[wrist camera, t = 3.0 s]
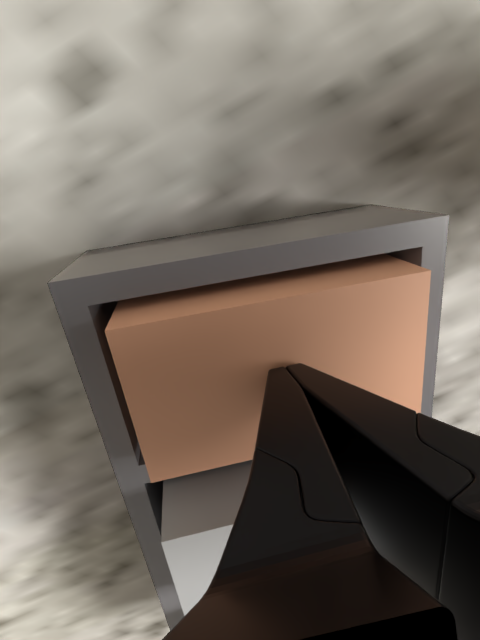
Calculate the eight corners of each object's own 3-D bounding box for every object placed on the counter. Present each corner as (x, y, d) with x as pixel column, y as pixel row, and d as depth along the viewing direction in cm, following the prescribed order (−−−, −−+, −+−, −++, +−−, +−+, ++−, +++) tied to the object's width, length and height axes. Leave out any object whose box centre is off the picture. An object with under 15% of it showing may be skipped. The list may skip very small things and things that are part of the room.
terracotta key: (367, 369, 13) (419, 420, 10) (156, 414, 12) (151, 483, 9) (368, 247, 11) (431, 270, 8) (122, 291, 10) (104, 331, 8)
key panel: (368, 541, 20) (413, 624, 16) (188, 589, 19) (191, 690, 15) (371, 204, 13) (449, 214, 9) (86, 250, 12) (47, 282, 8)
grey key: (376, 500, 14) (423, 575, 12) (188, 547, 14) (192, 640, 11) (377, 410, 13) (433, 474, 10) (164, 458, 12) (160, 542, 9)
